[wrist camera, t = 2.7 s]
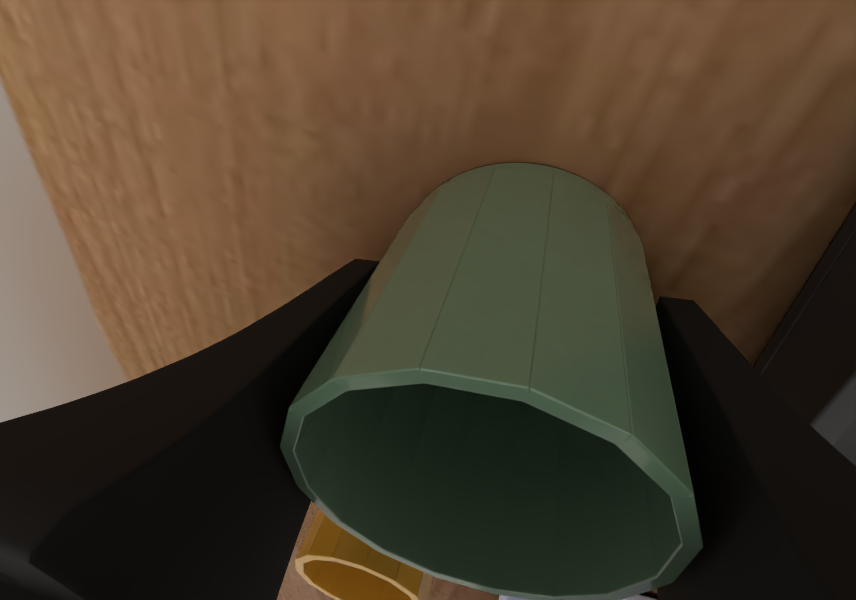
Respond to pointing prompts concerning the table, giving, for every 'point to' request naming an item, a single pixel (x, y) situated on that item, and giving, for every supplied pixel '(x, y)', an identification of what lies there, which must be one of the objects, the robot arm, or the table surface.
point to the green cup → (505, 398)
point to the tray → (821, 347)
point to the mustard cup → (355, 567)
